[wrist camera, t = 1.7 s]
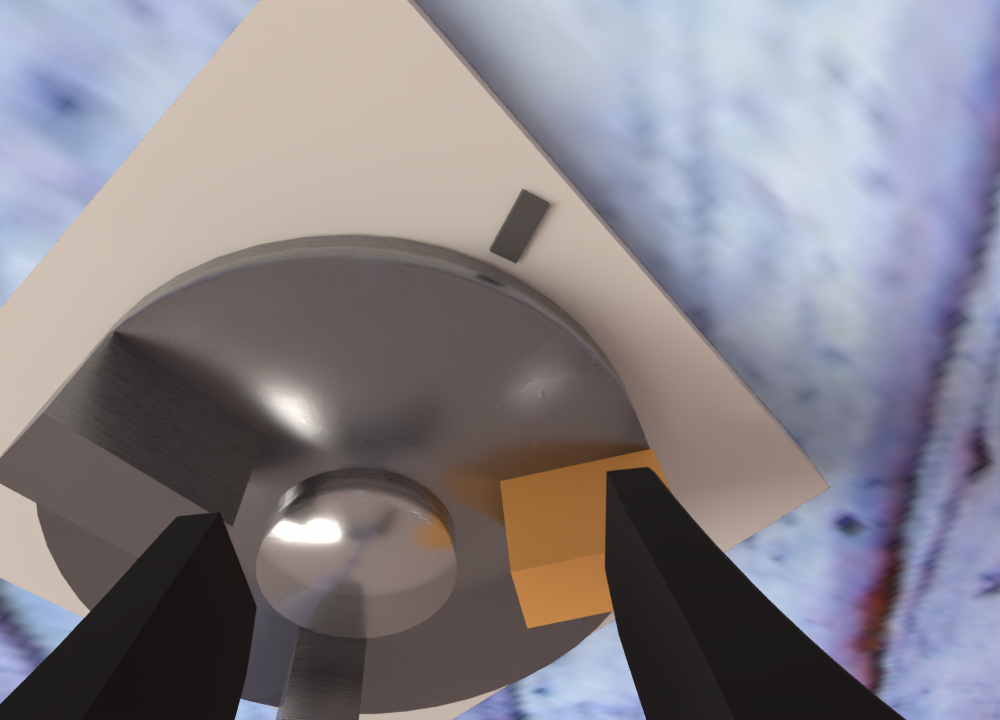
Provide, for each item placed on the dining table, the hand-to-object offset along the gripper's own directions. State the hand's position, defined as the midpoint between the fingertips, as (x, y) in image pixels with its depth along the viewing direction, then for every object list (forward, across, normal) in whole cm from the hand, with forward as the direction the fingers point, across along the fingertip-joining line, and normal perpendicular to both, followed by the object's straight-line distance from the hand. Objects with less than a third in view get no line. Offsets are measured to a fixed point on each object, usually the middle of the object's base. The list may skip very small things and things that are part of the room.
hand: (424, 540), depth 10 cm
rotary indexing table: (+8, +2, +6) cm, 10 cm away
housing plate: (+9, +2, +6) cm, 11 cm away
